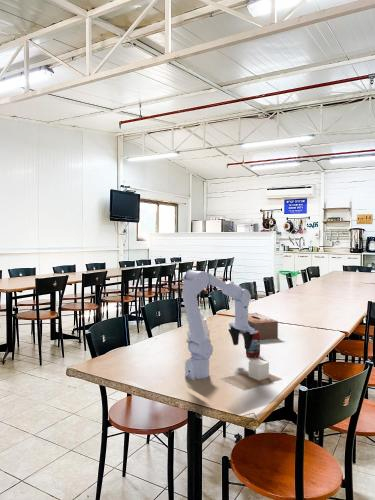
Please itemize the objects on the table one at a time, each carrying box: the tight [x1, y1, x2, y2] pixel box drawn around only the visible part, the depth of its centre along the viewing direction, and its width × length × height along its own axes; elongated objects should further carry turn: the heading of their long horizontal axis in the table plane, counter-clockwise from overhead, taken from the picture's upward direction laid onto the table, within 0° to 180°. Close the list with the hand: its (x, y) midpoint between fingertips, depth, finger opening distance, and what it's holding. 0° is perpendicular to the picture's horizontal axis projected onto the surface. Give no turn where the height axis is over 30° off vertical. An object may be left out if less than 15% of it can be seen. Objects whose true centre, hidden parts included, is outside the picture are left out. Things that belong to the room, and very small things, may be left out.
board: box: [220, 370, 282, 391], centre depth 154 cm, size 20×14×2 cm
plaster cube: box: [248, 358, 270, 381], centre depth 156 cm, size 6×6×6 cm
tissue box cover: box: [239, 312, 279, 341], centre depth 229 cm, size 26×14×10 cm, turn 17°
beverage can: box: [245, 330, 261, 358], centre depth 187 cm, size 7×7×12 cm
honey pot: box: [186, 306, 211, 342], centre depth 217 cm, size 13×13×18 cm
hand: (241, 346), depth 170 cm, fingers open, 7 cm apart
